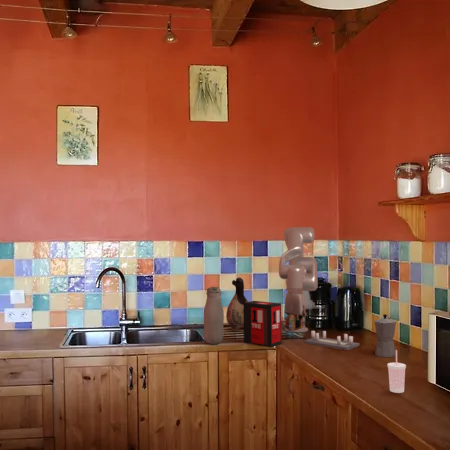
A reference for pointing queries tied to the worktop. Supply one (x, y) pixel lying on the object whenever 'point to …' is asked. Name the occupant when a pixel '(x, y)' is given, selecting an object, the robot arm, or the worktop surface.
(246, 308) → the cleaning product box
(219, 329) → the grey brown bottle
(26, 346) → the worktop surface
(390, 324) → the coffeepot
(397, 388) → the beverage cup
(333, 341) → the pin board
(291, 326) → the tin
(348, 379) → the worktop surface
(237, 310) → the ceramic jug
